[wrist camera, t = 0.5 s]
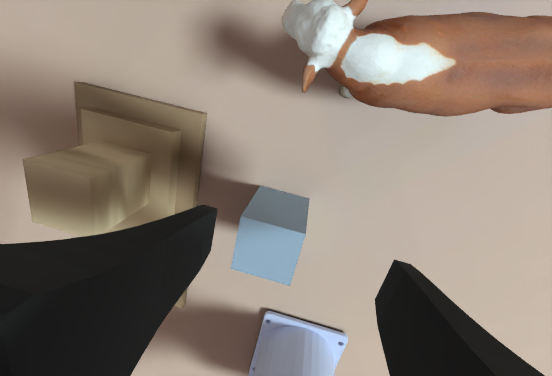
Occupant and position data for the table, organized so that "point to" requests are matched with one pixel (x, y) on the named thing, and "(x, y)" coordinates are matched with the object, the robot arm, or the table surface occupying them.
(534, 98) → the bull figurine
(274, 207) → the slate block
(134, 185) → the brass block
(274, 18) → the table surface
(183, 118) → the plinth
